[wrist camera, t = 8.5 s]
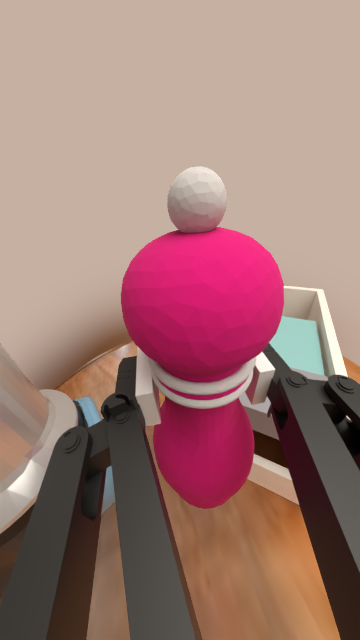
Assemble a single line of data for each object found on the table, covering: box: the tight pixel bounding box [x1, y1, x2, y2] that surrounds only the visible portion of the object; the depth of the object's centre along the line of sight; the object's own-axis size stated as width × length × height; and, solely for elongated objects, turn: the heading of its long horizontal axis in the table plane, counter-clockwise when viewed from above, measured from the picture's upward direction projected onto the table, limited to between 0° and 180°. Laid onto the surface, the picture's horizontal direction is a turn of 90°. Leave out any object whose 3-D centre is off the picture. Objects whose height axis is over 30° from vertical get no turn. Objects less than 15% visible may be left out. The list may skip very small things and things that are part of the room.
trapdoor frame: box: [247, 286, 350, 505], centre depth 38 cm, size 19×34×20 cm, turn 154°
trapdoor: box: [239, 316, 328, 440], centre depth 30 cm, size 14×22×4 cm, turn 154°
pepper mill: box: [121, 167, 284, 509], centre depth 11 cm, size 7×7×20 cm
